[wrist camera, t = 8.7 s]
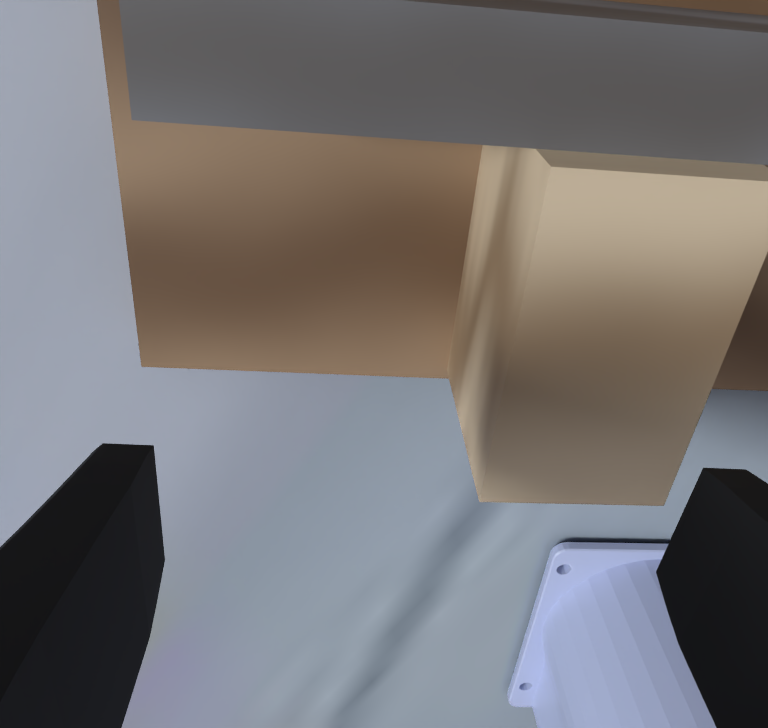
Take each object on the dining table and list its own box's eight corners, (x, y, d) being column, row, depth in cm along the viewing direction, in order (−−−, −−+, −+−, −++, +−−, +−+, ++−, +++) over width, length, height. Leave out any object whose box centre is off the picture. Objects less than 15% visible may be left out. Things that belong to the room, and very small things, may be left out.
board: (827, 365, 21) (859, 394, 20) (154, 337, 19) (141, 366, 18) (1289, -544, 11) (1407, -601, 10) (34, -780, 10) (-12, -886, 8)
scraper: (813, 384, 20) (944, 511, 15) (199, 360, 18) (158, 495, 14) (988, 35, 15) (1249, 82, 11) (172, -40, 13) (95, -21, 9)
